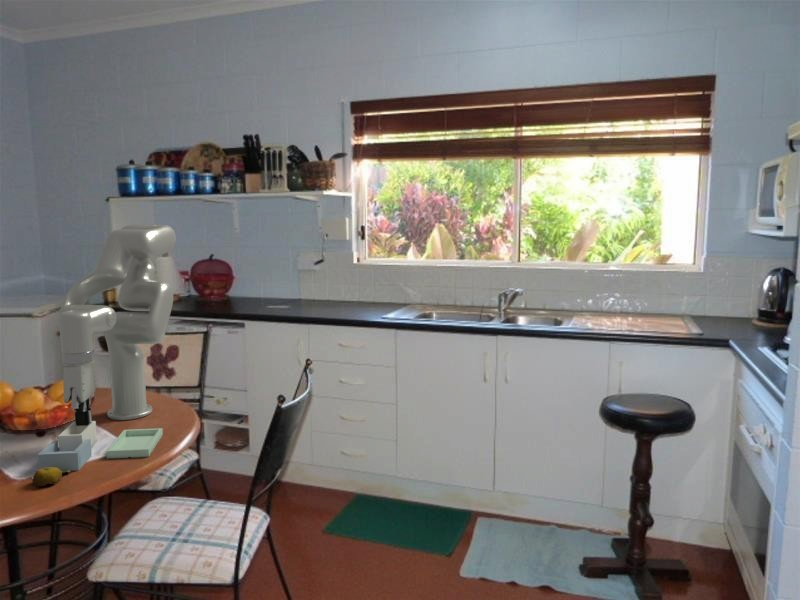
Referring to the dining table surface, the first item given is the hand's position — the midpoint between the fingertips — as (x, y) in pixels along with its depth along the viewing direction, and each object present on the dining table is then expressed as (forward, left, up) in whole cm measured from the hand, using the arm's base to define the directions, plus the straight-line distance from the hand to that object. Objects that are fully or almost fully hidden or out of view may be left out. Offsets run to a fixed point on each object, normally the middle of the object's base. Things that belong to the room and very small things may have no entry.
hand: (83, 423), depth 162 cm
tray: (+4, +14, -6) cm, 16 cm away
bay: (+13, 0, -6) cm, 14 cm away
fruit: (+21, 0, -6) cm, 22 cm away
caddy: (+4, 0, -6) cm, 7 cm away
